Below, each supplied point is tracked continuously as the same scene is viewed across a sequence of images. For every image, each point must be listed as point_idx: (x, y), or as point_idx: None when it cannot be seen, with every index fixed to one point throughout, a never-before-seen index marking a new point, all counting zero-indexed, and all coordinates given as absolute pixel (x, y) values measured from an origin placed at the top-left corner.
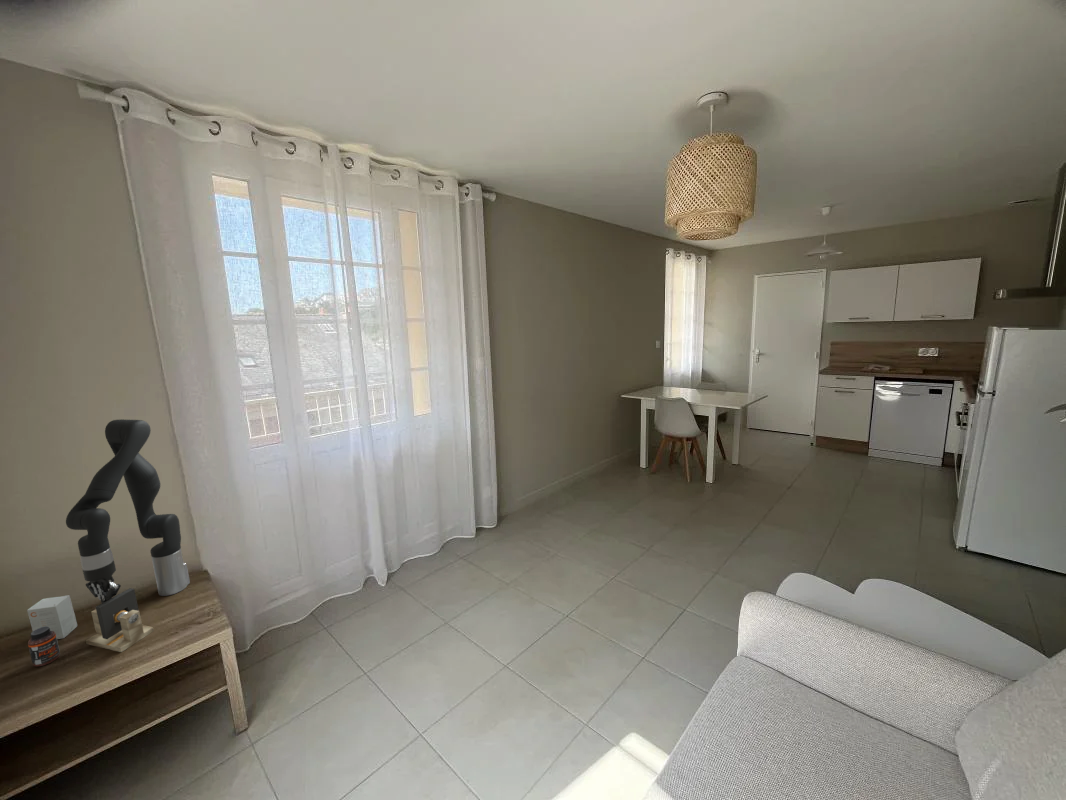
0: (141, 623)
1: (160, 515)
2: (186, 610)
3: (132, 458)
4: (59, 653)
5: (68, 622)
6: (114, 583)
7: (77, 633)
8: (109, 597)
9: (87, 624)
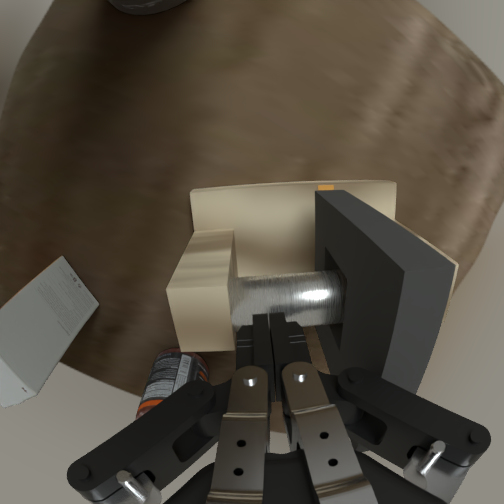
0: (418, 237)
1: None
2: (388, 54)
3: None
4: (194, 357)
5: (62, 300)
6: (458, 486)
7: (106, 277)
8: (371, 416)
9: (78, 237)
